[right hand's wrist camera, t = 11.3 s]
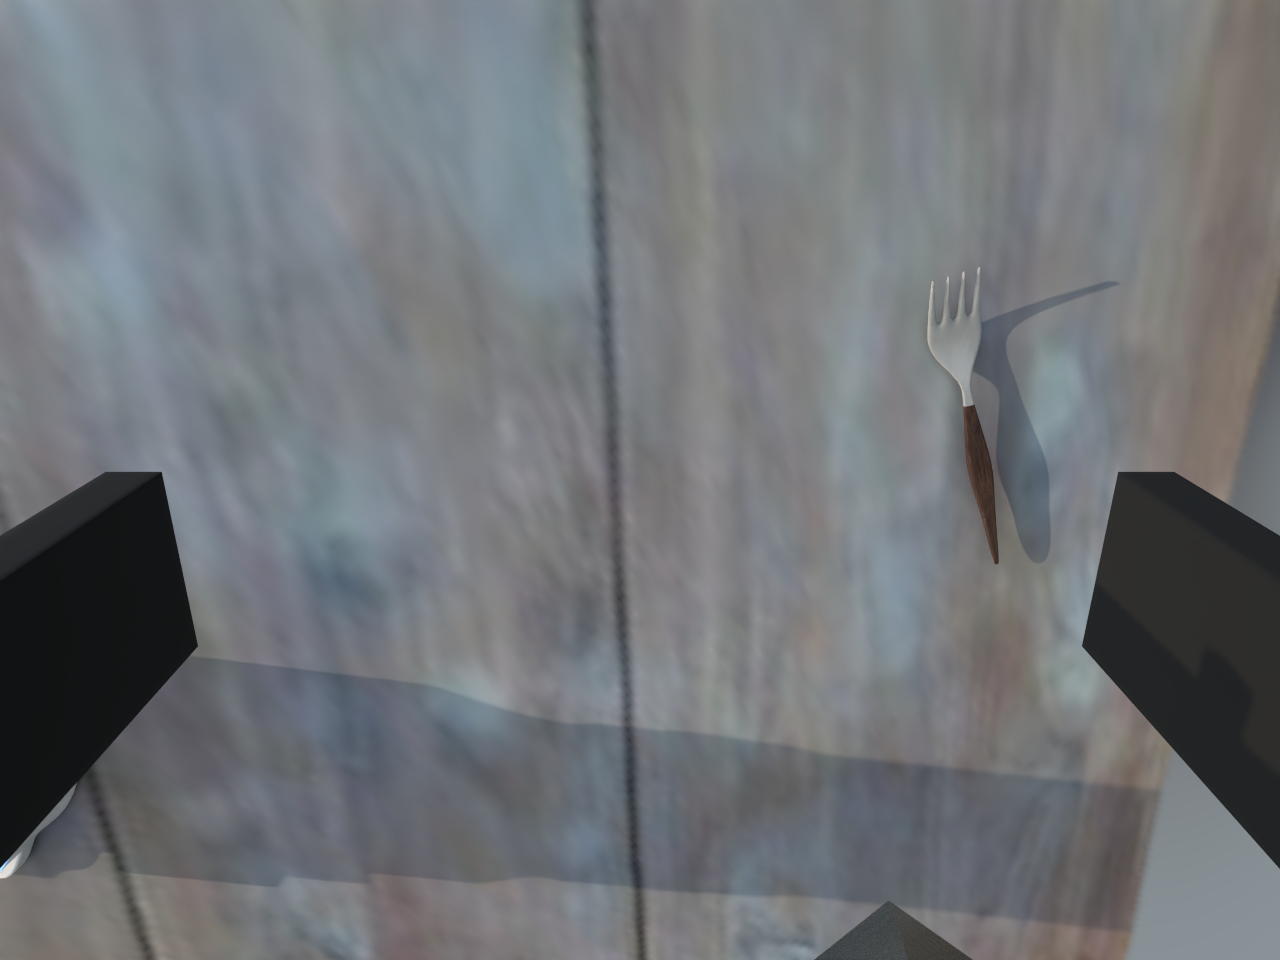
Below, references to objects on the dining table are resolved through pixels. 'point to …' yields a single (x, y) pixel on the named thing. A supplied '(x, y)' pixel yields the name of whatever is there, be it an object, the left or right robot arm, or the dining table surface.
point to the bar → (891, 940)
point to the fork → (966, 392)
